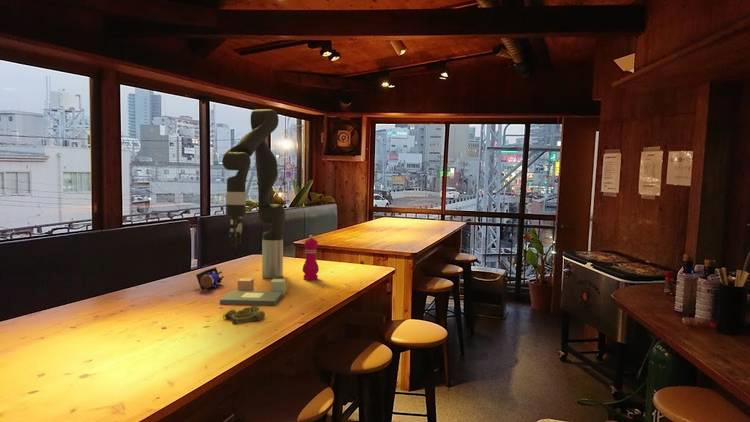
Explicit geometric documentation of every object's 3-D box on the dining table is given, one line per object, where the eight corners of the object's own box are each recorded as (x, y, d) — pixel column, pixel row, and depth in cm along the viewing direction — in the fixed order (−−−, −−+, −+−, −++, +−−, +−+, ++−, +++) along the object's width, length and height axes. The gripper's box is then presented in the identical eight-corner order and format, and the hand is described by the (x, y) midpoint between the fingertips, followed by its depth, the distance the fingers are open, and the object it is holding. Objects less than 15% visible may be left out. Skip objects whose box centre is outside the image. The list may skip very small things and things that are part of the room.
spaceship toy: (274, 311, 172) (274, 301, 171) (254, 327, 154) (254, 316, 154) (240, 309, 174) (240, 299, 173) (217, 324, 156) (217, 313, 156)
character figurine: (226, 284, 209) (209, 293, 194) (210, 282, 210) (192, 291, 195) (227, 266, 208) (210, 274, 194) (211, 264, 209) (193, 271, 195)
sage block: (273, 291, 199) (273, 278, 199) (285, 291, 199) (285, 279, 199) (270, 294, 194) (270, 281, 194) (283, 294, 194) (283, 281, 194)
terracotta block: (241, 290, 199) (241, 278, 199) (253, 290, 199) (253, 278, 199) (237, 293, 194) (237, 280, 194) (250, 293, 194) (250, 281, 194)
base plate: (231, 294, 192) (231, 290, 192) (282, 295, 191) (283, 291, 191) (219, 303, 178) (219, 299, 178) (274, 305, 178) (274, 300, 177)
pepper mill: (300, 277, 224) (301, 234, 222) (315, 276, 227) (316, 233, 225) (305, 281, 217) (305, 236, 216) (320, 280, 220) (321, 235, 219)
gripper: (242, 204, 185) (241, 247, 185) (249, 203, 199) (248, 243, 200) (221, 203, 184) (221, 246, 185) (230, 202, 198) (229, 242, 199)
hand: (235, 244), depth 192 cm, fingers open, 8 cm apart
